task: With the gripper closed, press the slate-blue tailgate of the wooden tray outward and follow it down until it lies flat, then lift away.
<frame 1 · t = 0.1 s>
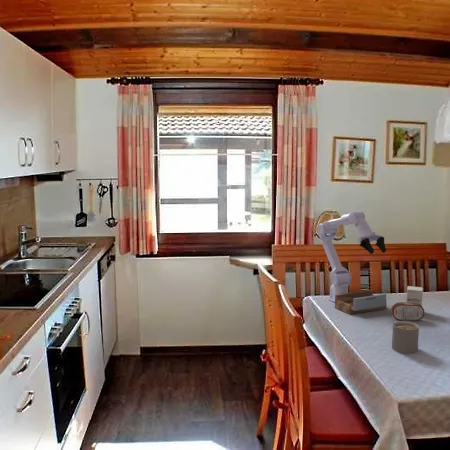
hand: (378, 252, 239), 32 cm above the table, tool tilted 50°, fingers open, 7 cm apart
wooden tray: (360, 308, 257), on the table
coffee mug: (403, 347, 205), on the table
supplement box: (413, 313, 250), on the table
tin: (407, 320, 239), on the table
tailgate: (370, 302, 250), point 5 cm above the table, hinge at 0.0°
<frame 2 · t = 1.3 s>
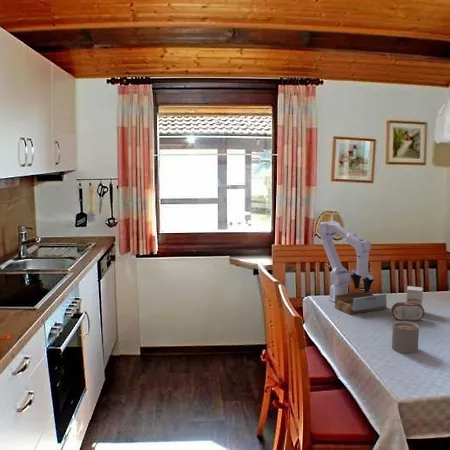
hand: (361, 290, 255), 10 cm above the table, tool pointing down, fingers open, 7 cm apart
nothing on the table moved.
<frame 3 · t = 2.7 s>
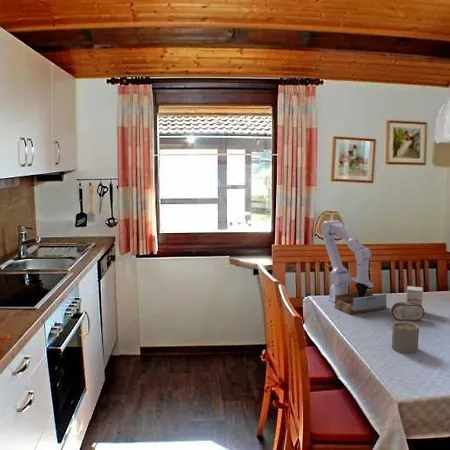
hand: (361, 297, 256), 6 cm above the table, tool pointing down, fingers closed
nothing on the table moved.
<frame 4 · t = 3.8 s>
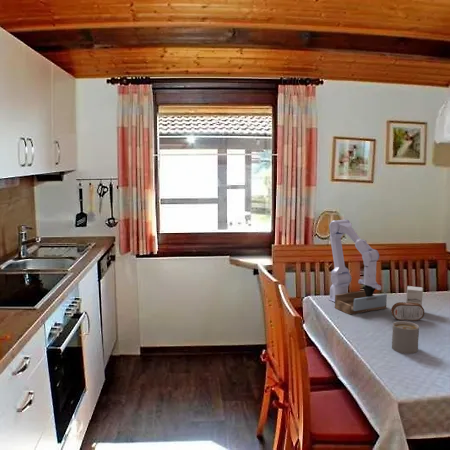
hand: (368, 300, 251), 6 cm above the table, tool pointing down, fingers closed, pressing on tailgate
tailgate: (370, 302, 250), point 5 cm above the table, hinge at 3.5°, touching gripper
everything else where it was.
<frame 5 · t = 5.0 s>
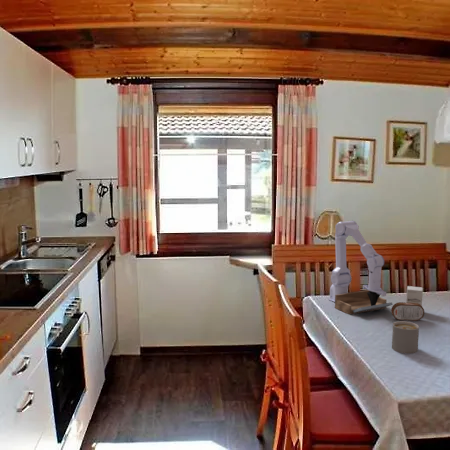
hand: (373, 306, 248), 4 cm above the table, tool pointing down, fingers closed, pressing on tailgate
tailgate: (373, 307, 248), point 3 cm above the table, hinge at 61.3°, touching gripper
everything else where it was.
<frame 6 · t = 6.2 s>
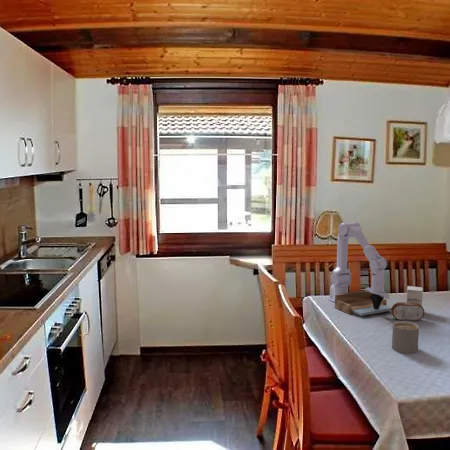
hand: (376, 309, 246), 3 cm above the table, tool pointing down, fingers closed
tailgate: (372, 310, 249), point 1 cm above the table, hinge at 88.1°
everything else where it was.
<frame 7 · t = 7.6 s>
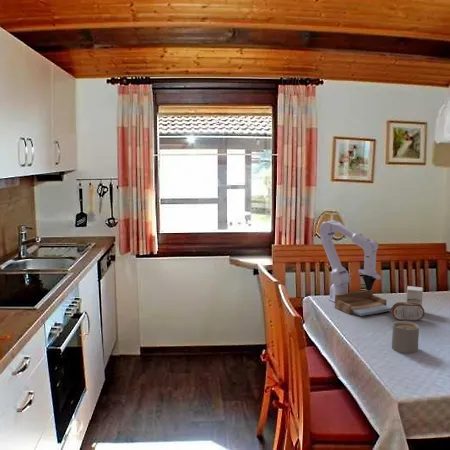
hand: (368, 290, 256), 9 cm above the table, tool pointing down, fingers closed
tailgate: (372, 310, 249), point 1 cm above the table, hinge at 88.5°
everything else where it was.
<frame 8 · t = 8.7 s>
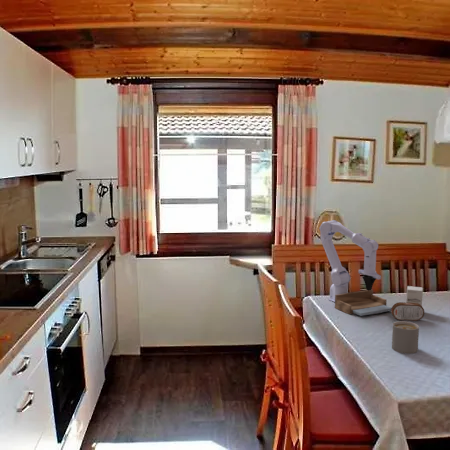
hand: (368, 290, 256), 9 cm above the table, tool pointing down, fingers closed
nothing on the table moved.
at the end: tailgate at +88° (first picture: +0°); tin moved 0.3 cm from its start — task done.
